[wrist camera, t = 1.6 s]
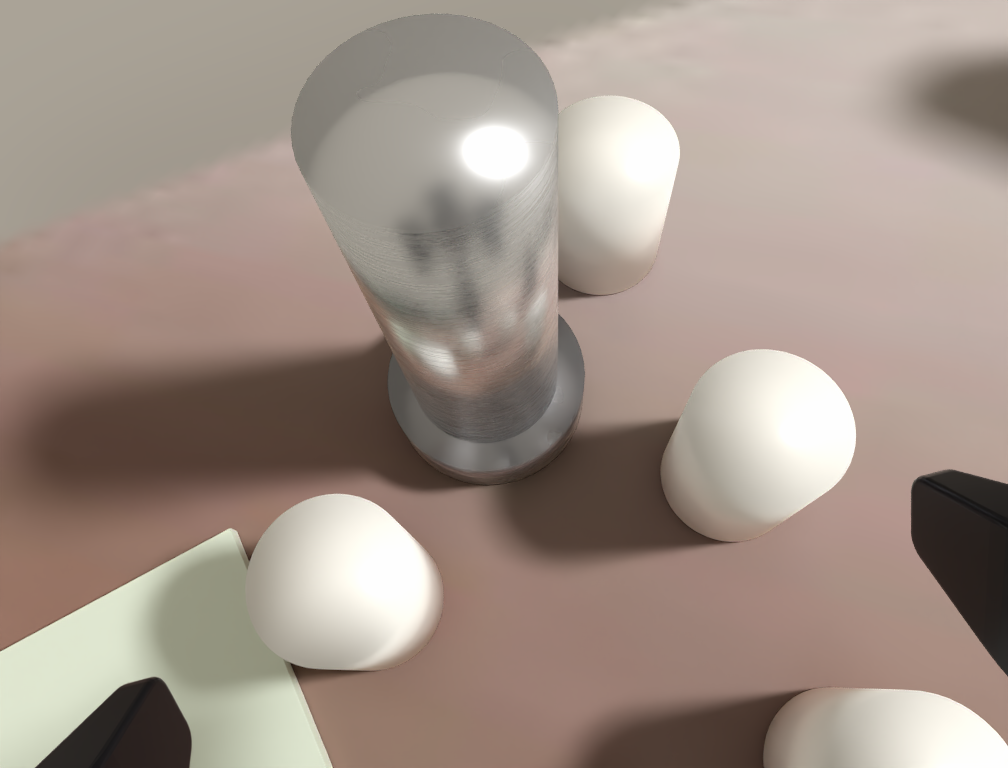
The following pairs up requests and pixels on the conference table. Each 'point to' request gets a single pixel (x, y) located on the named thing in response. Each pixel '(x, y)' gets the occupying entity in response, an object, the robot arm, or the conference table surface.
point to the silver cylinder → (451, 233)
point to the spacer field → (684, 476)
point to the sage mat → (164, 668)
